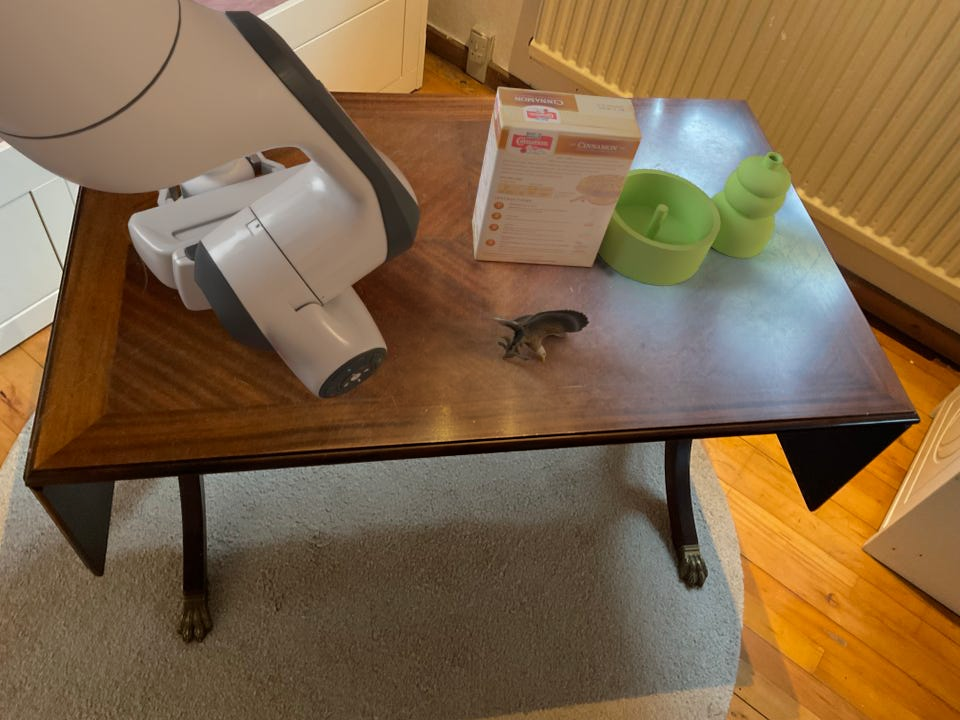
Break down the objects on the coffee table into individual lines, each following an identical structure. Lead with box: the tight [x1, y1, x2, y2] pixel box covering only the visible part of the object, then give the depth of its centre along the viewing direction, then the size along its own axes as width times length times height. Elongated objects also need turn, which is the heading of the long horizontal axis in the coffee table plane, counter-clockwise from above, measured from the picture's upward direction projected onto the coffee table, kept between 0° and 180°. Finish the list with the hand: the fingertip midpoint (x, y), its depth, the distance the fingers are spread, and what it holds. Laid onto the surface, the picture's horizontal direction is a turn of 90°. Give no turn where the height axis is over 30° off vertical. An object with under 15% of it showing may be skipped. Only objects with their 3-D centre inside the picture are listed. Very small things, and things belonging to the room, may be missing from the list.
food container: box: [597, 151, 792, 286], centre depth 92 cm, size 25×14×13 cm, turn 108°
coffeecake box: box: [471, 86, 643, 268], centre depth 85 cm, size 15×7×20 cm, turn 93°
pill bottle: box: [179, 158, 256, 199], centre depth 78 cm, size 8×7×14 cm
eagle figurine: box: [493, 309, 590, 362], centre depth 80 cm, size 8×7×9 cm
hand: (209, 169), depth 76 cm, fingers open, 8 cm apart
